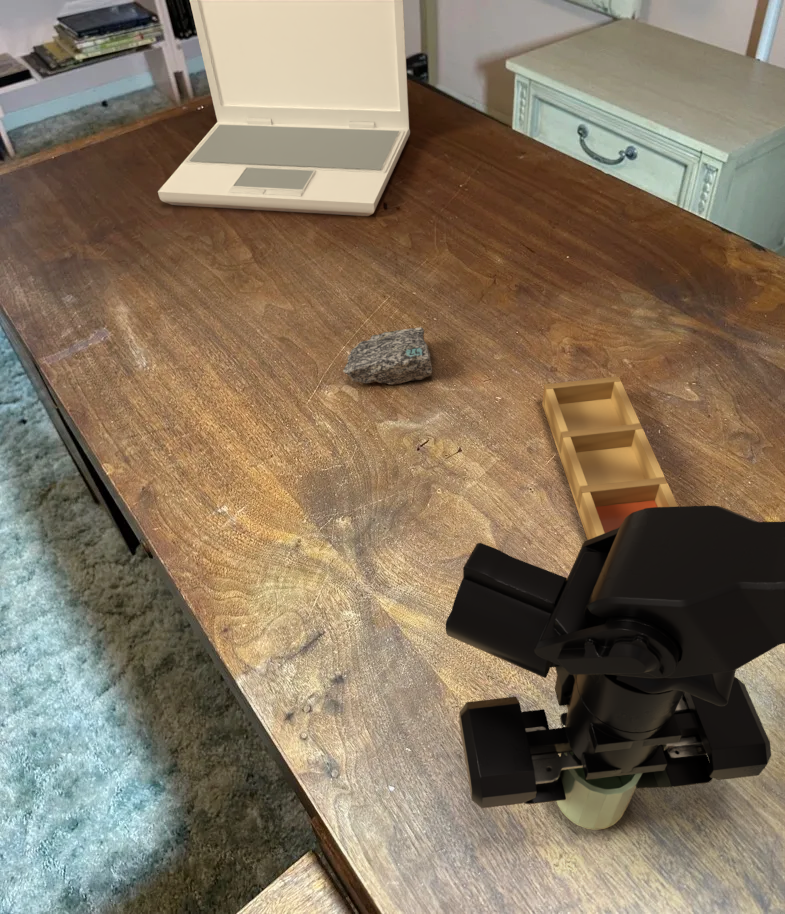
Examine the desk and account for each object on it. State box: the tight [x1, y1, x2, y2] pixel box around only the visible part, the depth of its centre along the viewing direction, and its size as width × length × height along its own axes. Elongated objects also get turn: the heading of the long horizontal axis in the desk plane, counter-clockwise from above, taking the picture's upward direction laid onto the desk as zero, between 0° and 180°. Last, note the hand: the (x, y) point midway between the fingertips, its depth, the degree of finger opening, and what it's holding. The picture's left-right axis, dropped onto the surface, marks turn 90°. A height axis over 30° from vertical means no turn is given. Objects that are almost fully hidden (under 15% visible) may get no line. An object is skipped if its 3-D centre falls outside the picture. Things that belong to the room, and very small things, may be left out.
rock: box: [342, 326, 433, 385], centre depth 89 cm, size 8×10×4 cm
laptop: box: [157, 0, 411, 217], centre depth 116 cm, size 35×26×28 cm
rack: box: [541, 376, 679, 541], centre depth 76 cm, size 23×8×3 cm, turn 5°
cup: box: [555, 752, 643, 831], centre depth 54 cm, size 5×5×7 cm
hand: (592, 785), depth 55 cm, fingers closed on cup, 5 cm apart
